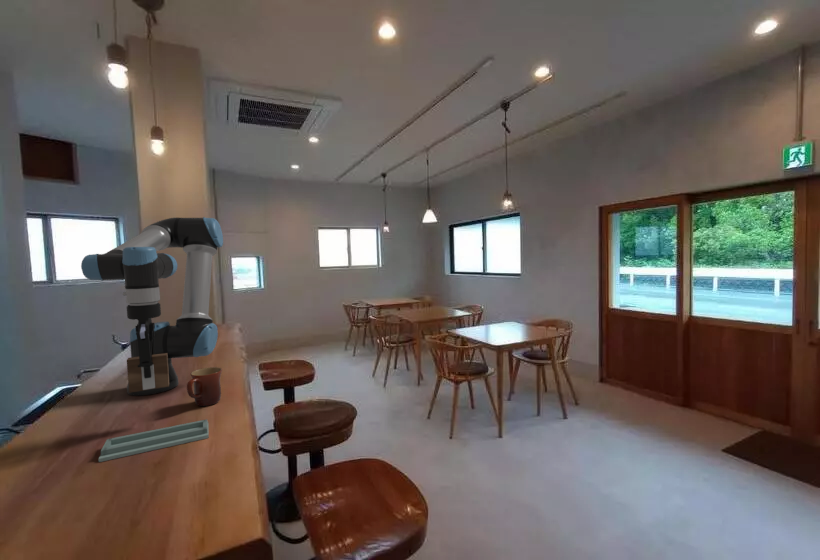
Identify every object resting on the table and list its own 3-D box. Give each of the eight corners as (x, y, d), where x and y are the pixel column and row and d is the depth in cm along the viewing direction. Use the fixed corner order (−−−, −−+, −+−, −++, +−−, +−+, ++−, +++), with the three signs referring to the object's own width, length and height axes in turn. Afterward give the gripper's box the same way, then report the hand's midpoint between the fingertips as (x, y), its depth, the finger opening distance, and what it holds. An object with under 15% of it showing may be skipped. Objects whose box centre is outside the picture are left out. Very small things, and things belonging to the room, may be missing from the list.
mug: (206, 396, 123) (204, 366, 122) (229, 398, 121) (228, 367, 121) (177, 411, 111) (175, 378, 111) (202, 413, 110) (200, 379, 109)
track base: (107, 444, 92) (107, 437, 92) (208, 424, 102) (208, 417, 102) (98, 462, 84) (98, 453, 84) (208, 437, 95) (208, 430, 94)
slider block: (130, 389, 102) (128, 357, 101) (169, 383, 106) (167, 353, 106) (129, 392, 100) (126, 360, 99) (168, 386, 104) (166, 355, 103)
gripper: (131, 300, 106) (137, 380, 108) (120, 308, 92) (128, 399, 94) (162, 298, 110) (168, 375, 112) (156, 305, 96) (163, 393, 98)
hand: (149, 386), depth 103 cm, fingers closed on slider block, 3 cm apart
